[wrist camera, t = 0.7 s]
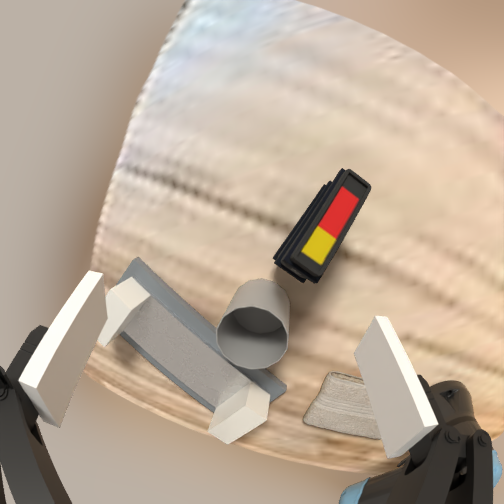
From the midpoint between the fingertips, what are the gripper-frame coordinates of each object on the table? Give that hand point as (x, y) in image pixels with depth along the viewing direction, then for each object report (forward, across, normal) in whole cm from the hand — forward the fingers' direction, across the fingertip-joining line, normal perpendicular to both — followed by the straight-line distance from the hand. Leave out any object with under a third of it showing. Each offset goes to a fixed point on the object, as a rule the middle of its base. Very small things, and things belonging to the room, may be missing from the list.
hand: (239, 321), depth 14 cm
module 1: (+24, +14, +22) cm, 36 cm away
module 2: (+17, -6, +33) cm, 37 cm away
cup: (+24, -6, +17) cm, 30 cm away
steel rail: (+21, +4, +28) cm, 35 cm away
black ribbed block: (+26, -10, +4) cm, 28 cm away
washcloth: (+16, -26, +31) cm, 44 cm away
